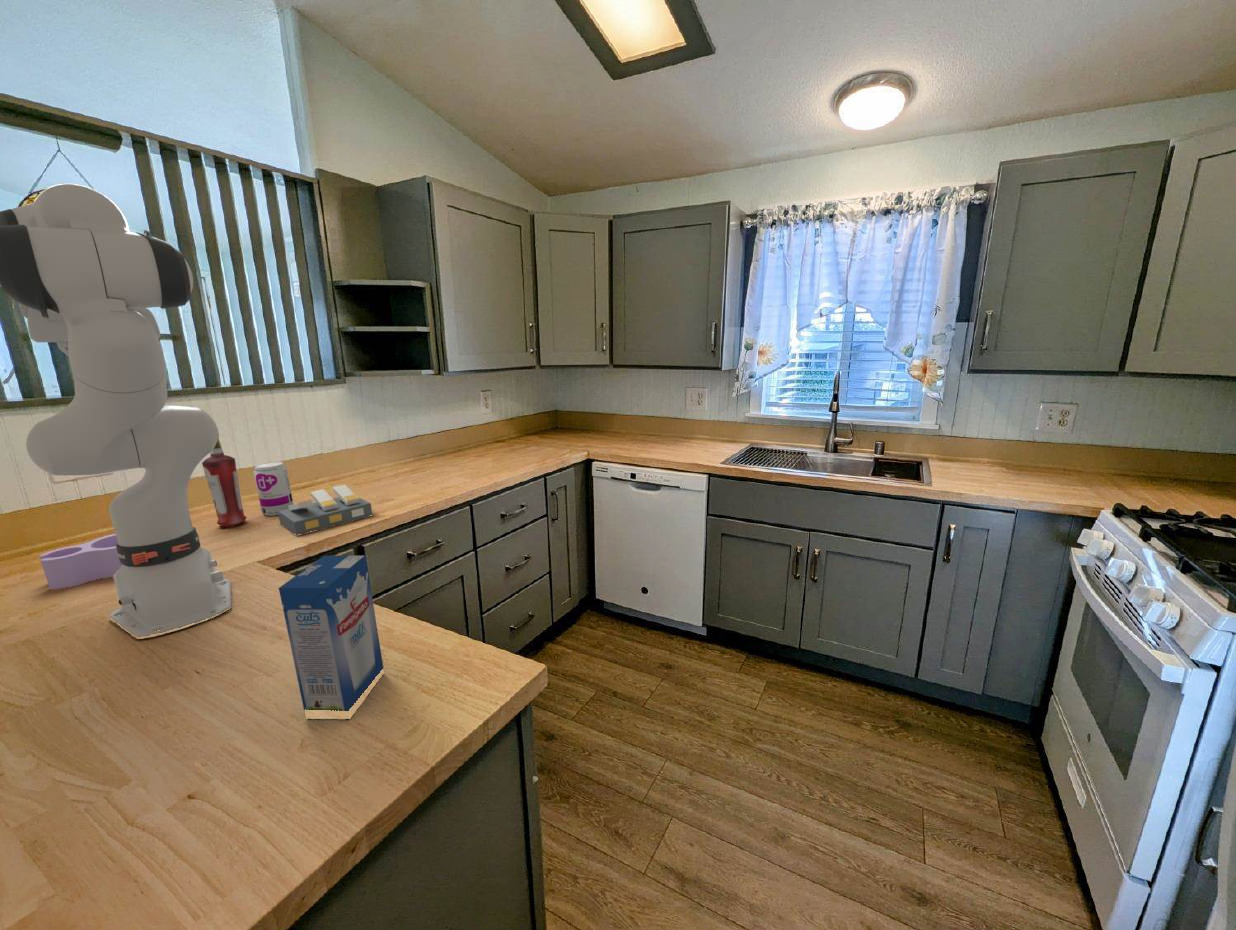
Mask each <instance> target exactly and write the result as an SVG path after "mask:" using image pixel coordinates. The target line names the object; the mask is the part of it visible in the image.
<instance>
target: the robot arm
mask: <svg viewBox="0 0 1236 930" xmlns="http://www.w3.org/2000/svg"><path fill="white" fill-rule="evenodd" d="M0 288H1V289H2V292H3V293H5V294H6V295H7V296H8V297H10V298H12V299H13V300H14V301H16V302H17V304H18V309H19V312H20V314H21V315H22V316H23V317H24V318H26V320H27V321H26V322H27V328H28V333H29V338H30V339H31V340H32V341H34V342H36V343H56V345H57V347H58V349H59V350H60V351H61V352H62V353H63V354H65V355H66V357H68V360H69V364H70V369H71V373H72V377H73V384H74V397H73V399H72V400H71V402H70V403H68V405H67V406H66V407H64V408H63V409H61V411H59V412H58V413H56V414H54V415H52V416H50V417H47V418H45V419H43V420H41V421H38V422H37V423H36V424H34V425H33V426H32V428H31V429H30V431H29V432H28V435H27V438H26V442H25V443H26V444H25V445H26V451H27V454H28V456H29V459H31V461H32V462H33V463H34V465H36V466H37V467H38V468H40V469H41V470H43V471H44V472H47V473H48V474H50V475H53V476H93V475H94V476H95V475H100V474H106V473H107V474H108V473H113V472H119V471H125V470H126V471H127V470H134V469H139V468H140V469H145V472H144V475H143V476H142V478H141V479H140V480H139V481H138V482H136V483H134V484H133V485H131V486H129V487H128V488H126V489H124V490H122V491H121V492H120V493H118V494H117V495H116V496H114V498H113V499H112V500H111V502H110V503H109V508H108V513H109V515H110V519H111V522H112V526H113V530H114V532H115V533H114V534H116V537H117V540H118V543H117V544H116V548H117V551H116V552H117V555H118V557H119V560H120V563H121V564H122V565H121V567H120V569H119V570H118V571H117V572H116V573H115V574H114V575H113V578H112V579H113V581H114V584H115V589H116V593H117V598H118V604H119V605H120V608H118V609H116V610H114V611H112V612H111V613H109V616H108V617H110V618H112V619H113V620H114V621H115V622H116V623H119V624H120V625H121V626H122V627H123V628H125V629H126V630H128V631H129V632H130V633H132V634H133V635H135V636H137V637H141V636H149V635H151V634H156V633H163V632H166V631H169V630H173V629H175V628H181V627H183V626H186V625H189V624H192V623H197V622H200V621H202V620H205V619H206V618H210V617H212V616H215V615H216V614H220V613H222V612H224V611H225V610H227V609H229V608H230V607H231V604H232V582H231V579H229V578H224V575H223V571H222V569H218V570H215V567H218V563H217V559H212V553H211V551H210V550H209V549H206V548H204V547H202V546H201V543H200V535H199V533H198V532H197V529H196V527H194V526H193V522H192V519H191V518H192V517H191V514H190V507H189V500H188V487H189V483H190V479H191V477H192V475H193V472H194V471H195V469H196V467H197V466H198V465H199V464H200V463H201V461H203V459H204V458H205V457H206V456H208V455H209V454H210V452H211V451H212V450H213V449H214V447H215V445H216V443H217V440H218V433H219V428H218V426H217V423H216V422H215V420H214V418H212V416H211V414H209V413H208V412H207V411H205V410H204V409H202V408H200V407H198V406H197V407H195V406H184V405H166V403H167V401H168V387H167V373H166V372H167V371H166V363H165V362H166V361H165V358H164V352H163V348H162V346H161V342H160V340H159V339H160V338H161V336H162V335H161V332H160V328H159V325H158V323H157V320H156V317H155V316H154V314H153V312H152V311H151V310H150V309H149V308H160V309H162V310H164V309H173V308H177V307H178V308H179V307H183V306H185V305H187V303H188V302H189V301H190V299H191V295H192V291H193V289H194V276H193V272H192V269H191V268H190V265H189V263H188V262H187V260H186V258H185V257H184V255H183V253H182V252H181V251H180V250H178V249H177V248H176V247H175V246H173V245H172V244H171V243H170V242H167V241H165V240H162V239H160V238H157V237H154V236H153V234H152V232H150V231H148V230H147V229H144V230H143V233H141V232H132V231H130V228H129V224H128V222H127V219H126V217H125V215H124V214H123V212H122V211H121V209H120V208H119V207H118V206H117V204H116V203H114V202H113V200H111V199H110V198H109V197H107V195H105V194H103V193H101V192H99V191H97V190H96V189H94V188H91V187H88V186H85V185H82V184H81V185H80V184H75V183H61V184H55V185H53V186H50V187H47V188H46V189H44V190H43V191H41V192H40V193H39V194H38V195H37V196H36V198H35V199H34V201H33V202H30V203H27V204H25V205H24V204H23V205H20V206H16V207H13V208H9V209H5V210H1V211H0ZM217 428H218V429H217ZM122 614H123V615H122ZM118 615H120V616H118ZM110 618H109V619H110ZM157 630H160V631H157ZM155 631H156V632H155Z"/></svg>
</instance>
